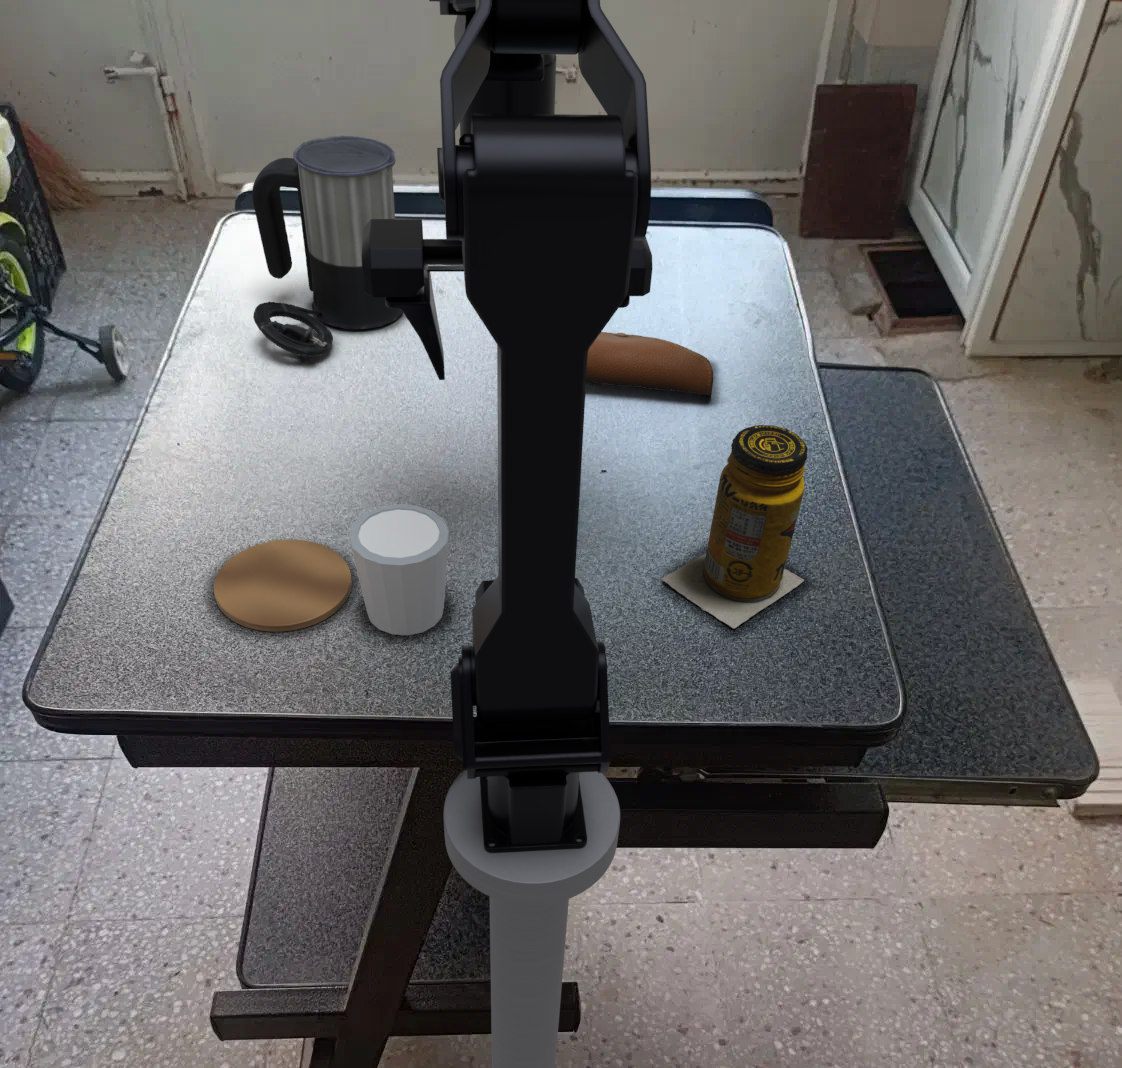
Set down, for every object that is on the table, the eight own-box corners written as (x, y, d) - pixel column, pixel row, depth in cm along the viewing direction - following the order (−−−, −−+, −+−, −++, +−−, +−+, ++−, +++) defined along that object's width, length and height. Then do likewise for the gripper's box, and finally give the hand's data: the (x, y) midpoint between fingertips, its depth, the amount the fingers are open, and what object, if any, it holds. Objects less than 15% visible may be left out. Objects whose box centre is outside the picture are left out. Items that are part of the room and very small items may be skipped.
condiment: (804, 582, 84) (840, 446, 75) (733, 630, 80) (763, 493, 71) (732, 538, 87) (758, 403, 78) (660, 582, 83) (680, 445, 74)
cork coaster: (349, 629, 78) (348, 623, 78) (207, 634, 77) (205, 628, 77) (354, 543, 85) (353, 537, 84) (223, 547, 84) (221, 540, 83)
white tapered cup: (408, 654, 77) (401, 577, 71) (338, 613, 79) (327, 535, 74) (471, 605, 80) (469, 528, 75) (402, 567, 83) (396, 490, 78)
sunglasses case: (712, 354, 106) (720, 314, 99) (706, 421, 104) (715, 384, 98) (528, 339, 106) (525, 298, 100) (520, 405, 105) (516, 368, 98)
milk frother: (404, 288, 114) (394, 133, 103) (408, 364, 103) (397, 202, 92) (266, 290, 112) (240, 133, 101) (255, 368, 102) (225, 203, 91)
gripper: (639, 97, 73) (620, 321, 84) (356, 93, 71) (377, 322, 82) (665, 162, 65) (640, 397, 77) (350, 159, 63) (374, 401, 75)
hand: (506, 376), depth 78 cm, fingers open, 9 cm apart
